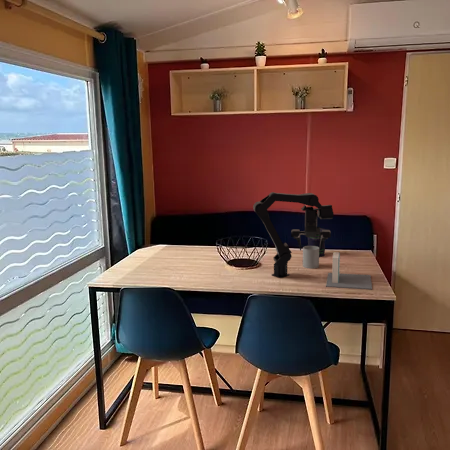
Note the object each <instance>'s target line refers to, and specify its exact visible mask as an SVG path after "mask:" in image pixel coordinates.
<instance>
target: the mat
mask: <svg viewBox="0 0 450 450" xmlns="http://www.w3.org/2000/svg"><path fill="white" fill-rule="evenodd" d="M371 277H372V275H371V274H356V273H340V272H339V283H332V272H328V273H327V277H326V282H325V283H326V284H325V287H326V288H338V289H340V288H341V289H356V290H369V291H370V290H373V285H372V278H371Z"/></svg>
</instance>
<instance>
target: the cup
mask: <svg viewBox="0 0 450 450" xmlns="http://www.w3.org/2000/svg"><path fill="white" fill-rule="evenodd" d="M302 267H303V268H305V269H310V270H311V269H317V268H318V269H319V267H320V257H319V247H316V246H308V245H305V246H303V247H302Z"/></svg>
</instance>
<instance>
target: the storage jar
mask: <svg viewBox="0 0 450 450" xmlns="http://www.w3.org/2000/svg"><path fill="white" fill-rule="evenodd" d="M322 230H326V229H325V228H321V227H320V232H322ZM320 241H321V236H320V235H316V237H315V238H313V237H307V243H308V244H307V246H316V247H319V258H323V257H325V255H326V254H325V251H326V246H325V241H326V240H325V241H324V243H323V245H322V248H321V251H320Z"/></svg>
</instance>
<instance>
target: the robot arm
mask: <svg viewBox="0 0 450 450" xmlns="http://www.w3.org/2000/svg"><path fill="white" fill-rule="evenodd" d="M275 202H283V203H296V204H302V205H303V206H302V207H301V208H300V209H301V211H302V212H304V213H305V214H304V230H303V231H302V230H301V231H300V229H295V228H293V229H291V232H290V235H291V236H290V237H291V238H293V239H295V240H296V242H297V244H298V247H299V250H300V251H302V242H301V236H305V238H308V237H313V238H315V237H316V235H320V236H321V241H320V251H321V248H322V245H323V243H324V241H326V240H328V239H330V238H332V236H331V230H330V229H325V230H322V232H320V228H321V226H318V218H319V219H320V220H333V218H334V216H335V215H334V214H335V213H334V210H333V204H327V205H323V204H321V202H320V201H319V197H318V195H316V194H314V193H312V192H307V193H305V192H304V193H300V194H297V193H281V192H274V191H271V192H270V193H268V195H266V196H265V197H264V198H261V200H259V201H255V202H254V204H253V206H252V208H253V211H254V212H255V214H256V215H257V216H258V218H259V219H260V220H261V221H262V223H263V225H264V227H265V229H266V231H267V233H268V234H269V237H270V238H271V240H272V242H273V244H274V246H275V251H276V254H274V256H273V260H274V263H273V273H271V276H273V277H277V278H280V279H282V278H286V277H289V276H290V274H289V273H288V263H289V261H291V259H292V253H293V251H291V249H290V247H289V245H288V244H287V242H282V238H280V235H279V233H278V232H277V230H276V227H275V226H274V224H273V222H272V220H271V219H270V216H269V211H268V210H269V208H270V207H272V205H273V204H275ZM314 207H315V208H314ZM324 244H325V243H324Z"/></svg>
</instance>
